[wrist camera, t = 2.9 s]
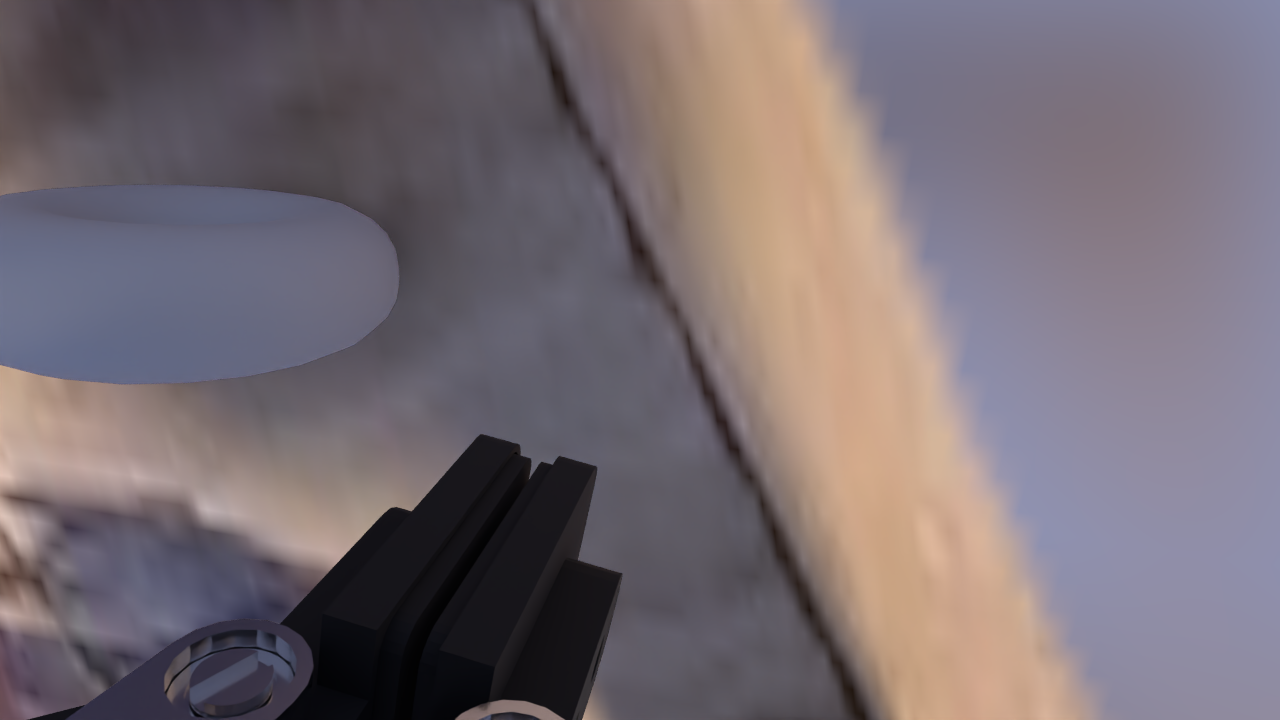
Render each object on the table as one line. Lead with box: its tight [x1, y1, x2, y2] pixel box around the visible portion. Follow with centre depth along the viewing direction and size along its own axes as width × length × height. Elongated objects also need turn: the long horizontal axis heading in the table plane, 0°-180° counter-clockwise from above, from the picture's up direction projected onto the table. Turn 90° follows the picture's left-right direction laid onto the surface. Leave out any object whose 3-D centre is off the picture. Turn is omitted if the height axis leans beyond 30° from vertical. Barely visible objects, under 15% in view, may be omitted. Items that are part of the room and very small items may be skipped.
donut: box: [0, 185, 399, 384], centre depth 19 cm, size 10×4×10 cm, turn 86°
